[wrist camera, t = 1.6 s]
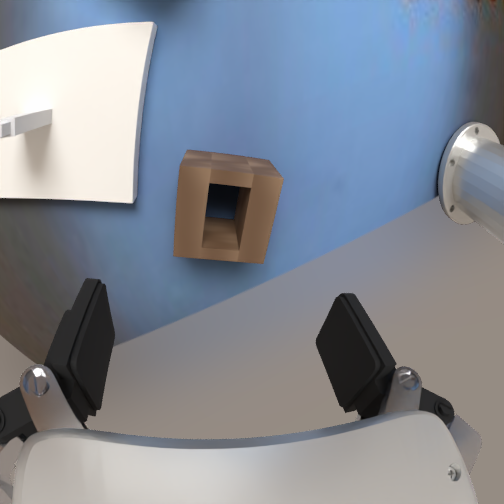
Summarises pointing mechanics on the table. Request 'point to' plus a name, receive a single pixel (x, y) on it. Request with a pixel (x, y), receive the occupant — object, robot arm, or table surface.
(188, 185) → the open wooden cubby
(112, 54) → the key base
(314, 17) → the table surface
